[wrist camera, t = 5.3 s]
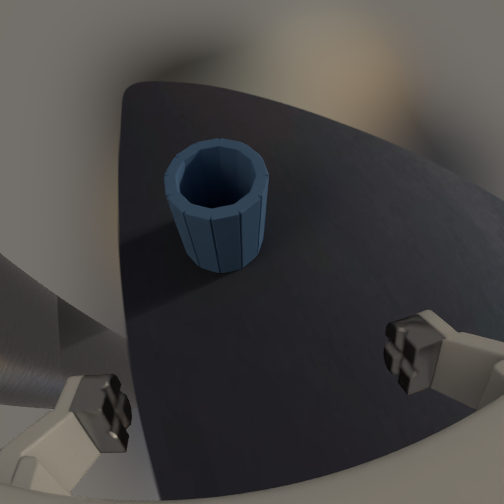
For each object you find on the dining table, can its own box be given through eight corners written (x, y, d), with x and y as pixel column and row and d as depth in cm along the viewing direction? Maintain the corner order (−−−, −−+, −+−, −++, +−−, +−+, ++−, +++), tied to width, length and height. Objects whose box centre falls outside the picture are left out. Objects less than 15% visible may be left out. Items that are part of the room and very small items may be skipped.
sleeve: (191, 280, 25) (170, 229, 18) (179, 212, 28) (160, 149, 21) (271, 262, 26) (280, 206, 19) (251, 197, 29) (253, 131, 21)
